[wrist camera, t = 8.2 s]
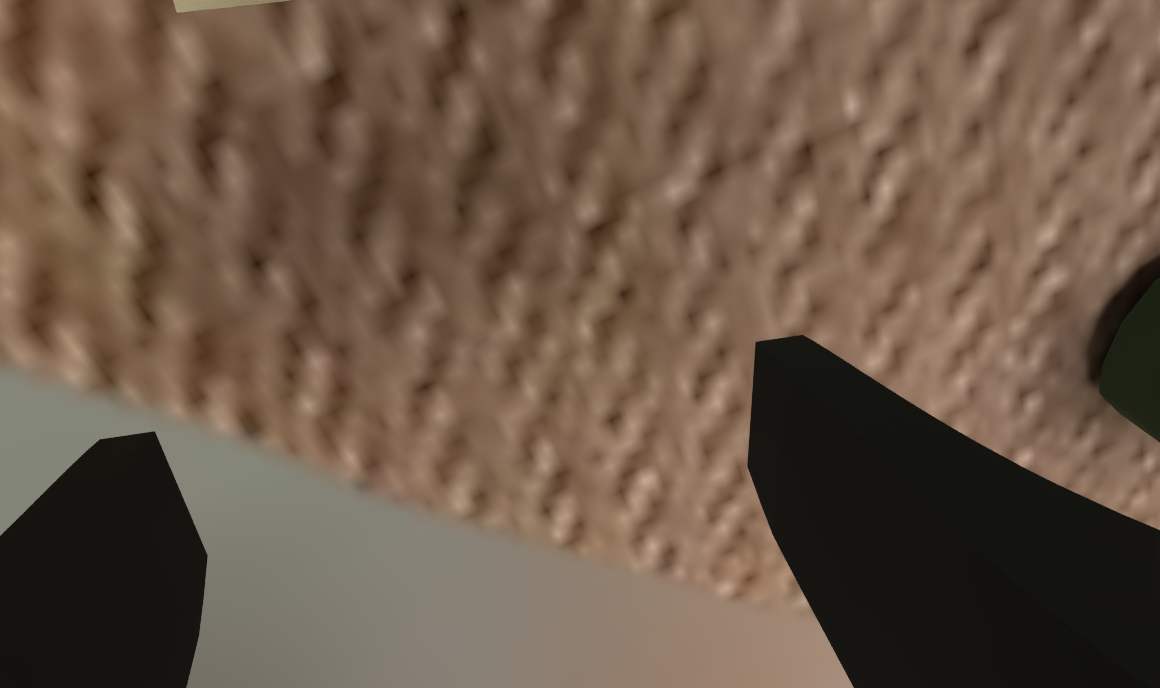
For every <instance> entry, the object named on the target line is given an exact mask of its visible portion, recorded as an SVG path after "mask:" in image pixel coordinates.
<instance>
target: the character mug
mask: <svg viewBox="0 0 1160 688" xmlns="http://www.w3.org/2000/svg"><path fill="white" fill-rule="evenodd" d="M1099 393H1100V394H1101V395H1102V396H1103V397H1104V398H1105V399H1106V400H1107V401H1108V402H1109V403H1110V404H1111V405H1112V406H1113V407H1114V408H1115V409H1116V410H1117V411H1118V412H1119V413H1120V414H1122V415H1123V416H1124V417H1126V418H1127V419H1128V420H1130V421H1131V422H1133V423H1134V424H1135V425H1137V426H1138V427H1139V428H1141V429H1142V430H1144V431H1145V432H1146V433H1148V434H1149V435H1150V436H1152V437H1153V438H1155V439H1156V440H1157V441H1159V442H1160V277H1159V278H1158V279H1156V280H1155V281H1154V283H1153V284H1152V285H1151V286H1150V288H1149V289H1148V290H1147V291H1146V293H1145V294H1144V295H1143V296H1142V298H1141V299H1140V300H1139V301H1138V303H1137V304H1136V305H1135V306H1134V308H1133V309H1132V310H1131V311H1130V313H1129V314H1128V315H1127V316H1126V318H1125V319H1124V320H1123V321H1122V323H1121V325H1120V327H1119V329H1118V331H1117V334H1116V336H1115V338H1114V340H1113V342H1112V345H1111V347H1110V349H1109V351H1108V353H1107V356H1106V358H1105V360H1104V362H1103V366H1102V375H1101V383H1100V391H1099Z"/></svg>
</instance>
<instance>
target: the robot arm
mask: <svg viewBox="0 0 1160 688" xmlns="http://www.w3.org/2000/svg"><path fill="white" fill-rule="evenodd" d="M748 469H749V472H750V475H751V477H752V480H753V483H754V486H755V489H756V491H757V494H758V497H759V500H760V503H761V505H762V508H763V511H764V513H765V516H766V518H767V521H768V523H769V526H770V529H771V531H772V534H773V536H774V538H775V540H776V542H777V544H778V546H779V548H780V550H781V552H782V553H783V555H784V557H785V559H786V561H787V563H788V565H789V567H790V569H791V571H792V573H793V574H794V576H795V578H796V580H797V582H798V584H799V586H800V588H801V590H802V592H803V593H804V595H805V597H806V599H807V601H808V603H809V605H810V606H811V608H812V610H813V612H814V614H815V616H816V618H817V620H818V621H819V623H820V625H821V627H822V629H823V631H824V632H825V634H826V636H827V638H828V640H829V642H830V644H831V646H832V647H833V649H834V651H835V653H836V655H837V657H838V659H839V661H840V663H841V664H842V666H843V668H844V670H845V672H846V674H847V676H848V678H849V679H850V681H851V683H852V685H853V687H854V688H1160V530H1158V529H1156V528H1153V527H1151V526H1149V525H1146V524H1144V523H1141V522H1139V521H1137V520H1134V519H1132V518H1129V517H1127V516H1125V515H1122V514H1120V513H1118V512H1116V511H1113V510H1111V509H1109V508H1107V507H1105V506H1103V505H1100V504H1098V503H1096V502H1094V501H1092V500H1090V499H1087V498H1085V497H1083V496H1081V495H1079V494H1077V493H1074V492H1072V491H1070V490H1068V489H1066V488H1064V487H1061V486H1059V485H1057V484H1055V483H1053V482H1051V481H1049V480H1047V479H1045V478H1043V477H1041V476H1039V475H1037V474H1035V473H1033V472H1031V471H1029V470H1027V469H1025V468H1023V467H1021V466H1020V465H1018V464H1016V463H1014V462H1012V461H1010V460H1009V459H1007V458H1005V457H1003V456H1001V455H999V454H998V453H996V452H994V451H992V450H990V449H988V448H987V447H985V446H983V445H981V444H979V443H977V442H976V441H974V440H972V439H970V438H969V437H967V436H965V435H963V434H962V433H960V432H958V431H957V430H955V429H953V428H951V427H950V426H948V425H946V424H945V423H943V422H941V421H940V420H938V419H936V418H935V417H933V416H931V415H930V414H928V413H926V412H925V411H923V410H921V409H920V408H918V407H917V406H915V405H913V404H912V403H910V402H908V401H907V400H905V399H904V398H902V397H900V396H899V395H897V394H896V393H894V392H893V391H891V390H889V389H888V388H886V387H885V386H883V385H882V384H880V383H878V382H877V381H875V380H874V379H872V378H871V377H869V376H868V375H866V374H864V373H863V372H861V371H860V370H858V369H857V368H855V367H854V366H852V365H851V364H849V363H847V362H846V361H844V360H843V359H841V358H840V357H838V356H837V355H835V354H833V353H832V352H830V351H829V350H827V349H825V348H824V347H822V346H821V345H819V344H817V343H816V342H814V341H812V340H811V339H809V338H807V337H805V336H804V335H799V336H793V337H786V338H779V339H773V340H766V341H759V342H756V346H755V361H754V376H753V391H752V406H751V421H750V436H749V451H748ZM206 567H207V553H206V551H205V548H204V546H203V544H202V542H201V539H200V537H199V534H198V532H197V530H196V527H195V525H194V523H193V520H192V518H191V515H190V513H189V511H188V508H187V506H186V504H185V502H184V499H183V497H182V494H181V492H180V490H179V487H178V485H177V483H176V480H175V478H174V475H173V473H172V471H171V468H170V467H169V464H168V462H167V459H166V457H165V454H164V452H163V450H162V447H161V445H160V443H159V440H158V438H157V435H156V433H155V432H147V433H141V434H134V435H127V436H120V437H114V438H107V439H100V440H99V441H98V442H96V443H95V444H94V445H93V446H92V447H91V448H90V449H88V450H87V451H86V452H85V453H84V454H83V455H82V456H81V457H80V458H79V459H78V460H77V461H76V462H75V463H74V464H73V465H72V466H70V467H69V468H68V469H67V470H66V471H65V472H64V473H63V474H62V475H61V476H60V477H59V478H58V479H57V480H56V481H55V482H54V483H53V484H52V485H51V486H50V487H49V488H48V489H47V490H46V491H45V492H44V493H43V494H42V495H41V496H40V497H39V498H38V499H37V500H36V501H35V502H34V503H33V504H32V505H31V506H30V507H29V508H28V509H27V510H26V511H25V512H24V513H23V514H22V515H21V516H20V517H19V518H18V519H17V520H16V521H15V522H14V523H13V524H12V525H11V526H10V527H9V528H8V529H7V530H6V531H5V532H4V533H3V534H2V535H1V536H0V688H186V686H187V682H188V678H189V674H190V670H191V666H192V662H193V658H194V654H195V650H196V646H197V641H198V637H199V630H200V623H201V615H202V606H203V598H204V587H205V577H206Z"/></svg>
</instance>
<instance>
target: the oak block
mask: <svg viewBox="0 0 1160 688" xmlns="http://www.w3.org/2000/svg"><path fill="white" fill-rule="evenodd" d="M281 1H291V0H173V2H174V5H175V8H176V11H177V13H178V12H188V11H197V10H207V9H216V8H225V7H235V6H244V5H253V4H263V3H272V2H281Z"/></svg>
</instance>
